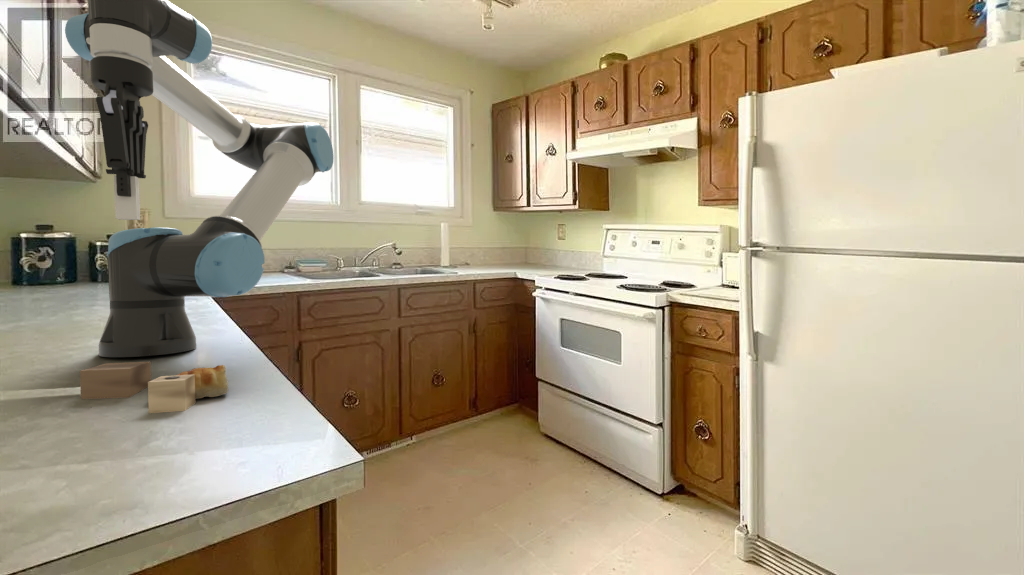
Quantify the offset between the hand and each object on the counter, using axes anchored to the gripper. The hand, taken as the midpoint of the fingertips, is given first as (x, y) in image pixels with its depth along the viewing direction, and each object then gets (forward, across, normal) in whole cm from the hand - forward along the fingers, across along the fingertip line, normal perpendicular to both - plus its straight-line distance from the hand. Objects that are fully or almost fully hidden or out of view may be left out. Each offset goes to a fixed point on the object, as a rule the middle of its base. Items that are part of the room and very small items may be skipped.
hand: (128, 219), depth 77 cm
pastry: (+27, +9, +8) cm, 30 cm away
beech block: (+26, +16, +10) cm, 32 cm away
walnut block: (+26, +5, 0) cm, 27 cm away
